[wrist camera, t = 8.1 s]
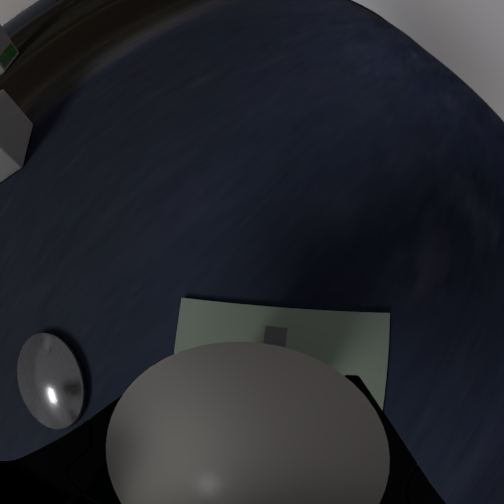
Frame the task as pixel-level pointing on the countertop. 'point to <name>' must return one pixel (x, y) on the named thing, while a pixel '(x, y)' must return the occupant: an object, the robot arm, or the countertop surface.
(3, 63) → the skincare box
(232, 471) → the grey rounded post
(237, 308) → the mat
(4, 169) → the medicine bottle
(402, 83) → the countertop surface
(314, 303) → the countertop surface
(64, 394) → the grey shallow disc
